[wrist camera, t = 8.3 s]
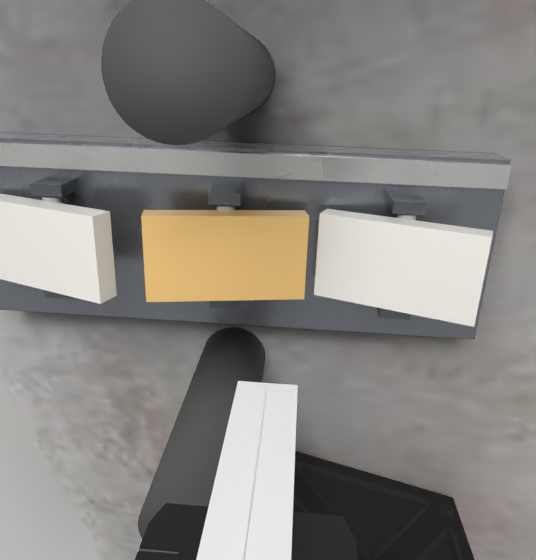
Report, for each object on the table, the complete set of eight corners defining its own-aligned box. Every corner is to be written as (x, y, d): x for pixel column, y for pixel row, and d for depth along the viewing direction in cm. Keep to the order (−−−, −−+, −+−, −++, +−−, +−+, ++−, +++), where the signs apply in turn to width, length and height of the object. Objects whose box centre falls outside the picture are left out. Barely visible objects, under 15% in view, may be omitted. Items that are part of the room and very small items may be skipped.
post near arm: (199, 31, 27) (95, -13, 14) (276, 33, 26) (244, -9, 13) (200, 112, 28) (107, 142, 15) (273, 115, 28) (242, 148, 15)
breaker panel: (-7, 131, 29) (-60, 140, 25) (493, 153, 28) (526, 166, 24) (18, 292, 33) (-24, 324, 29) (462, 320, 31) (485, 356, 27)
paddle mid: (145, 202, 26) (140, 211, 24) (302, 203, 27) (309, 212, 25) (150, 290, 28) (146, 305, 26) (297, 288, 29) (304, 302, 27)
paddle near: (331, 201, 27) (319, 209, 26) (494, 222, 24) (493, 233, 23) (325, 285, 29) (313, 298, 27) (476, 315, 26) (473, 330, 24)
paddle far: (2, 185, 28) (-30, 192, 27) (119, 203, 25) (91, 212, 24) (15, 267, 30) (-15, 278, 28) (126, 293, 27) (101, 307, 25)
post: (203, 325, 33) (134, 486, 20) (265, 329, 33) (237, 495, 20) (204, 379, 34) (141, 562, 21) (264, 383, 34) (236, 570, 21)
